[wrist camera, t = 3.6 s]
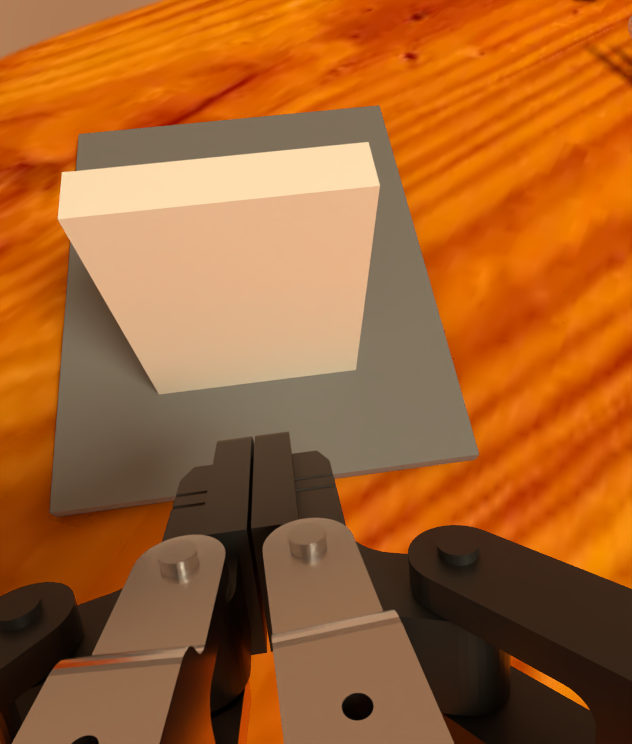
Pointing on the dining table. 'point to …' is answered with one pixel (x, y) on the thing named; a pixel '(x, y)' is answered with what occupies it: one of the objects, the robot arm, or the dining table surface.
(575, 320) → the dining table surface
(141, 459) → the mat
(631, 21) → the spoon
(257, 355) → the tile
